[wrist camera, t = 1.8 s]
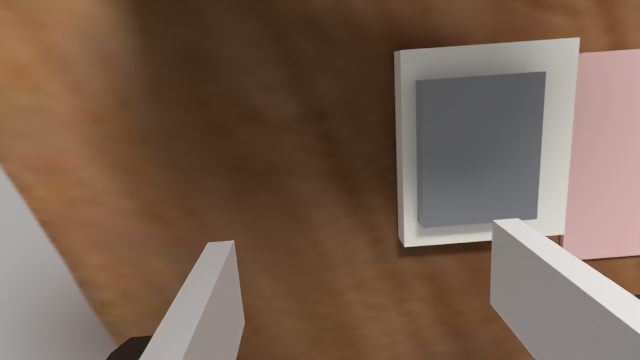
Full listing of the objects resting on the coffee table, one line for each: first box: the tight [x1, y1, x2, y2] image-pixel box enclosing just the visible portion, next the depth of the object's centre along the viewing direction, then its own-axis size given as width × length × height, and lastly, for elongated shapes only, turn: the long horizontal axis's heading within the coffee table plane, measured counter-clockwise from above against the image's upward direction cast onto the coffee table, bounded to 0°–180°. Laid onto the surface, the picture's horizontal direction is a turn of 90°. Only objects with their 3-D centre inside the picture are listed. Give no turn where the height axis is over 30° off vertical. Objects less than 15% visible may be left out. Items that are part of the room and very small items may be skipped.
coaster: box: [416, 71, 546, 228], centre depth 28 cm, size 10×8×2 cm
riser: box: [394, 37, 580, 247], centre depth 30 cm, size 14×12×2 cm
